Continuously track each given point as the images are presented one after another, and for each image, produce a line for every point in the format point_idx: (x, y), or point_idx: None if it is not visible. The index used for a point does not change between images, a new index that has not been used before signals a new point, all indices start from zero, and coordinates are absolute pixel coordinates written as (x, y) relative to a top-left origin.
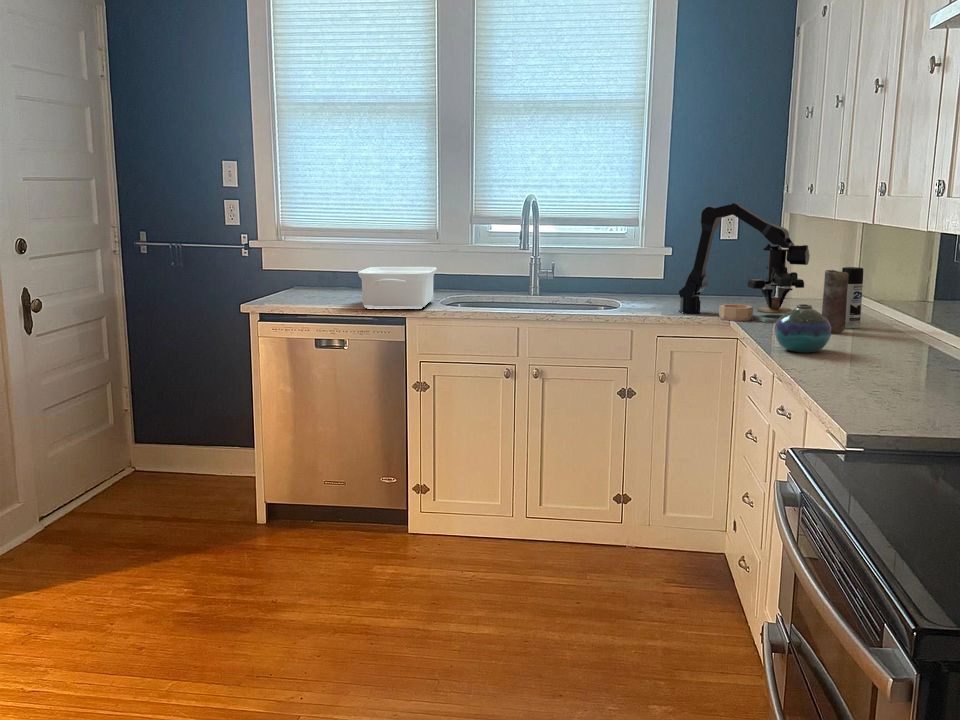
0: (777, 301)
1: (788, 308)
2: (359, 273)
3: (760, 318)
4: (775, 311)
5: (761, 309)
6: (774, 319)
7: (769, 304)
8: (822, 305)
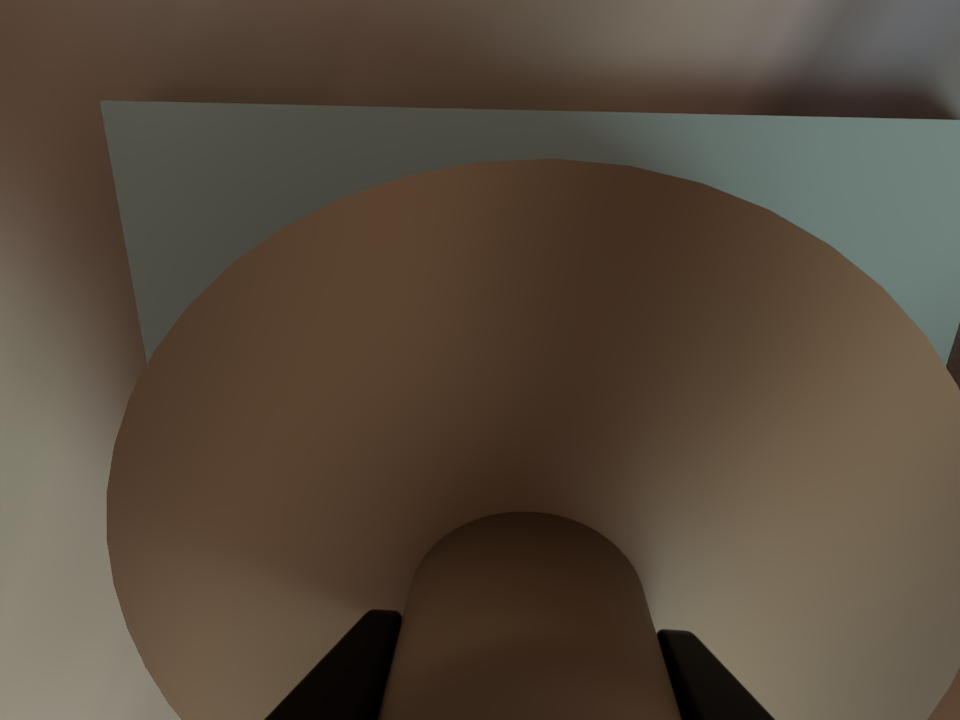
0: None
1: (133, 633)
2: None
3: (943, 350)
4: (758, 207)
5: (899, 630)
6: (747, 117)
7: (760, 709)
8: None
